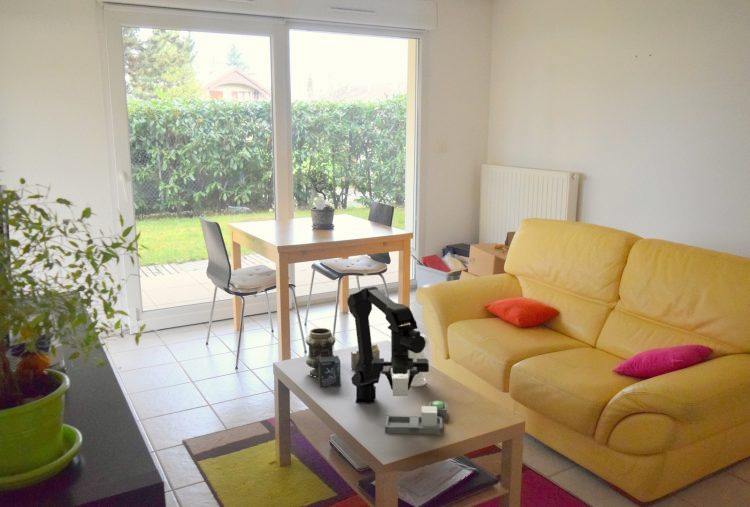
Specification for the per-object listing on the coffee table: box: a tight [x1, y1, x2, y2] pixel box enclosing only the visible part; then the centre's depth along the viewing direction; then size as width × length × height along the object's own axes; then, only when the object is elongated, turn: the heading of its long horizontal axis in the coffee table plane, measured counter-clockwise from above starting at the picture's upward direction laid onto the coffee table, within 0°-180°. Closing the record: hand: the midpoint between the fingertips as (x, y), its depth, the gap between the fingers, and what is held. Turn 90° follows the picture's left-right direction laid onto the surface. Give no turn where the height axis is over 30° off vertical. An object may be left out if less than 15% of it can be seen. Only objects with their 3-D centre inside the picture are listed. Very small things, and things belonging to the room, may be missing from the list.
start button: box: [432, 400, 443, 409], centre depth 225 cm, size 4×4×4 cm
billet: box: [392, 373, 409, 397], centre depth 218 cm, size 5×5×6 cm
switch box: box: [428, 401, 448, 420], centre depth 225 cm, size 6×6×4 cm
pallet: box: [384, 405, 444, 435], centre depth 216 cm, size 19×9×6 cm, turn 86°
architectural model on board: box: [350, 343, 380, 371], centre depth 269 cm, size 11×3×10 cm, turn 108°
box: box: [318, 355, 341, 388], centre depth 252 cm, size 8×6×11 cm
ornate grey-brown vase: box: [305, 327, 336, 377], centre depth 262 cm, size 12×12×18 cm
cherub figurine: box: [407, 333, 430, 388], centre depth 251 cm, size 12×12×22 cm
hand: (400, 389), depth 218 cm, fingers closed on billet, 5 cm apart
